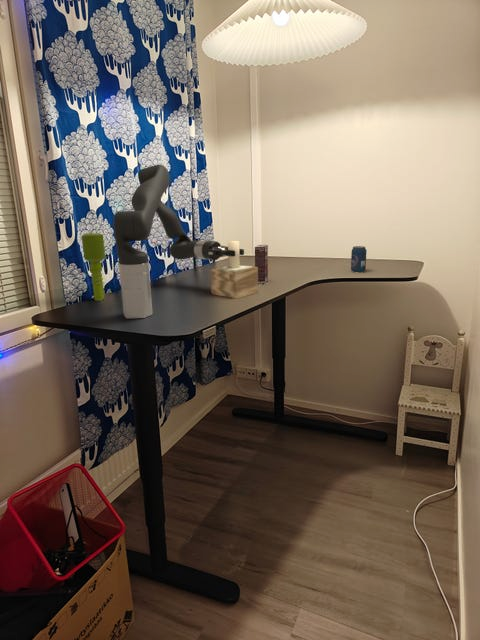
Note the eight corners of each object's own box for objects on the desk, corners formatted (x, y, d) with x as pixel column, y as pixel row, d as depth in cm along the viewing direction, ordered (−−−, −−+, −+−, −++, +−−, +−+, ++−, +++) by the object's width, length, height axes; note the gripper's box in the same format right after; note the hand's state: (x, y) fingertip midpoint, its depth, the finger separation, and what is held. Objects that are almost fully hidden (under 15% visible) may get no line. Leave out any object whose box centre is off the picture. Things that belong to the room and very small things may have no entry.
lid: (252, 269, 174) (251, 240, 171) (235, 273, 167) (234, 243, 164) (233, 267, 181) (232, 239, 178) (216, 271, 174) (214, 241, 171)
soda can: (347, 271, 219) (348, 246, 215) (359, 270, 221) (360, 245, 218) (356, 273, 212) (357, 248, 209) (368, 272, 215) (369, 247, 212)
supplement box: (265, 283, 193) (265, 246, 189) (254, 283, 194) (253, 246, 190) (268, 280, 201) (268, 244, 197) (257, 280, 202) (257, 244, 198)
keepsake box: (258, 292, 177) (257, 267, 174) (235, 298, 168) (235, 271, 165) (233, 288, 185) (233, 264, 183) (211, 293, 176) (210, 268, 173)
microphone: (103, 301, 167) (95, 234, 161) (85, 301, 169) (77, 234, 162) (113, 297, 175) (107, 232, 168) (96, 296, 177) (89, 232, 170)
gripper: (194, 242, 175) (225, 244, 164) (219, 239, 186) (251, 241, 174) (195, 261, 177) (226, 265, 166) (220, 257, 188) (251, 260, 177)
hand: (238, 252), depth 170 cm, fingers closed on lid, 4 cm apart
